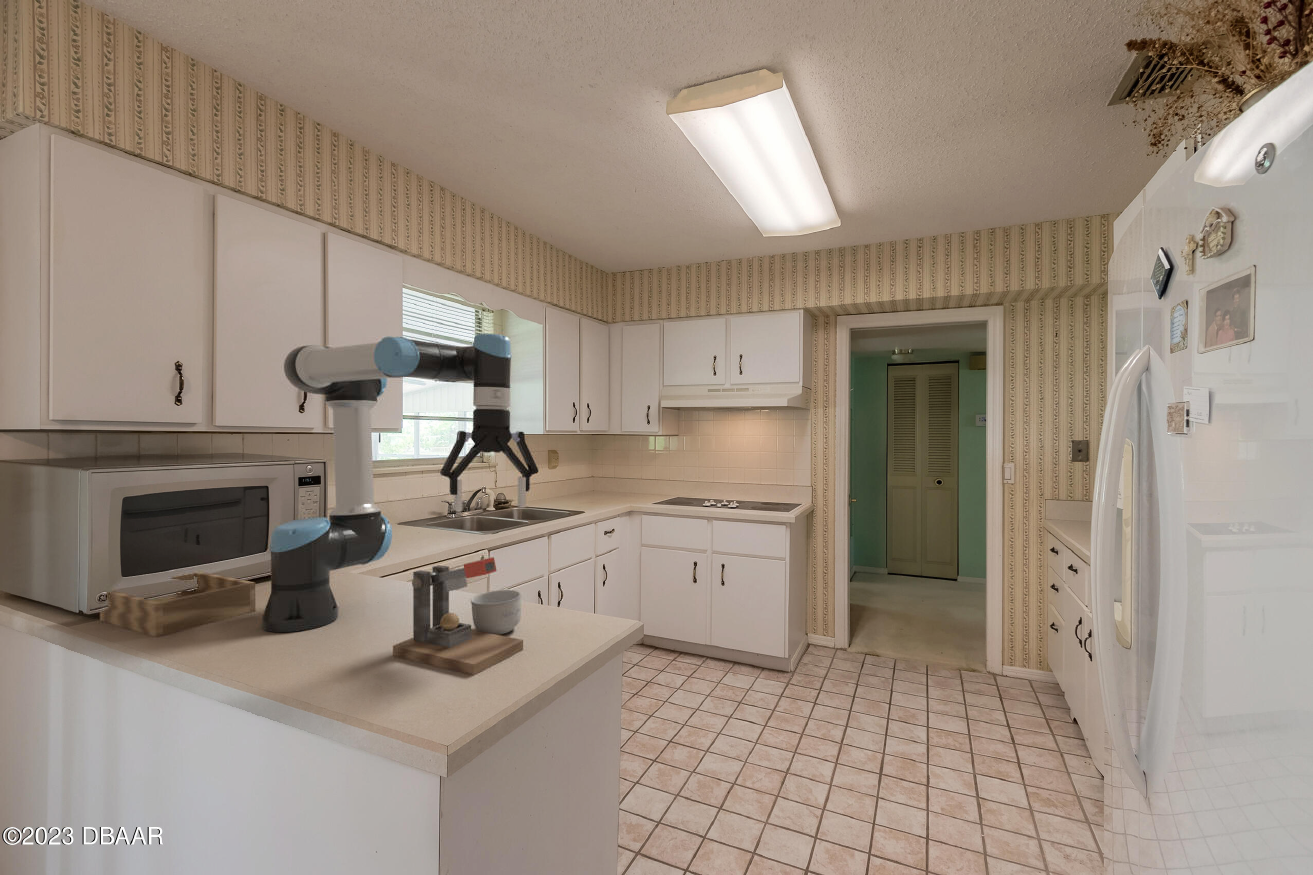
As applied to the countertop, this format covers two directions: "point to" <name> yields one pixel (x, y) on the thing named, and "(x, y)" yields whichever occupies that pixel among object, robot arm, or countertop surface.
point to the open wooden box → (182, 606)
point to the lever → (463, 574)
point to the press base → (449, 634)
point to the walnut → (449, 622)
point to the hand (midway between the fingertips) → (490, 508)
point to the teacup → (496, 611)
